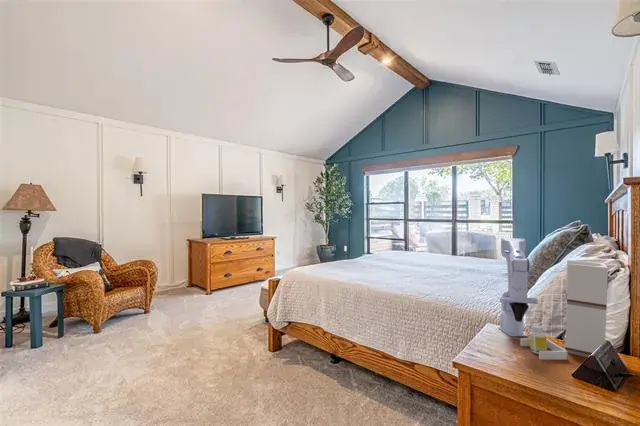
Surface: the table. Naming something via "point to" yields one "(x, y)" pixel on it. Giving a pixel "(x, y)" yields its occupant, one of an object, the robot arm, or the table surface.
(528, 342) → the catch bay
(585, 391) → the table surface
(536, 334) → the supplement bottle
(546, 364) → the table surface
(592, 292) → the mini fridge
